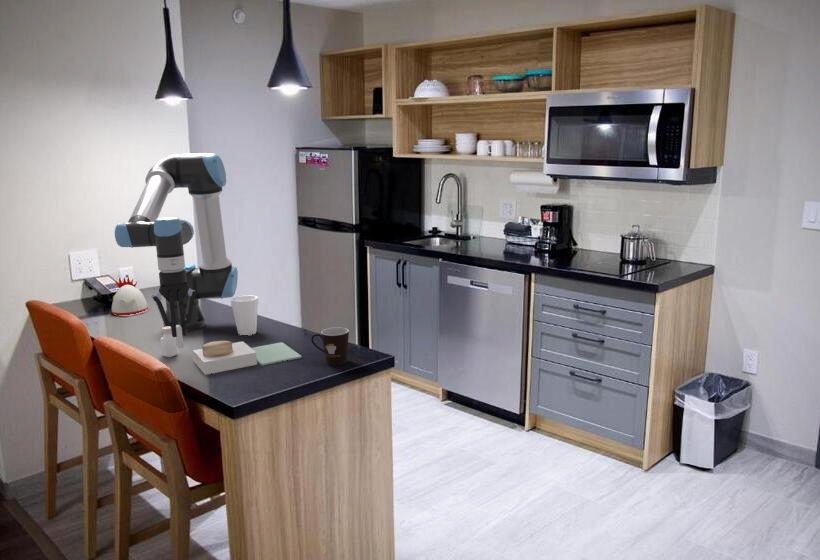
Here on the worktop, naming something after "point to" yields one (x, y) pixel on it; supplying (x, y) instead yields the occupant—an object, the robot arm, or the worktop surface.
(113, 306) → the white dome hat
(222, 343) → the tan flat disc
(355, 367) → the worktop surface
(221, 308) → the worktop surface
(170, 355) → the pepper shaker
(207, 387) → the worktop surface
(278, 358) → the rubber mat
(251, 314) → the foam cup
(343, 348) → the coffee mug
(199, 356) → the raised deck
